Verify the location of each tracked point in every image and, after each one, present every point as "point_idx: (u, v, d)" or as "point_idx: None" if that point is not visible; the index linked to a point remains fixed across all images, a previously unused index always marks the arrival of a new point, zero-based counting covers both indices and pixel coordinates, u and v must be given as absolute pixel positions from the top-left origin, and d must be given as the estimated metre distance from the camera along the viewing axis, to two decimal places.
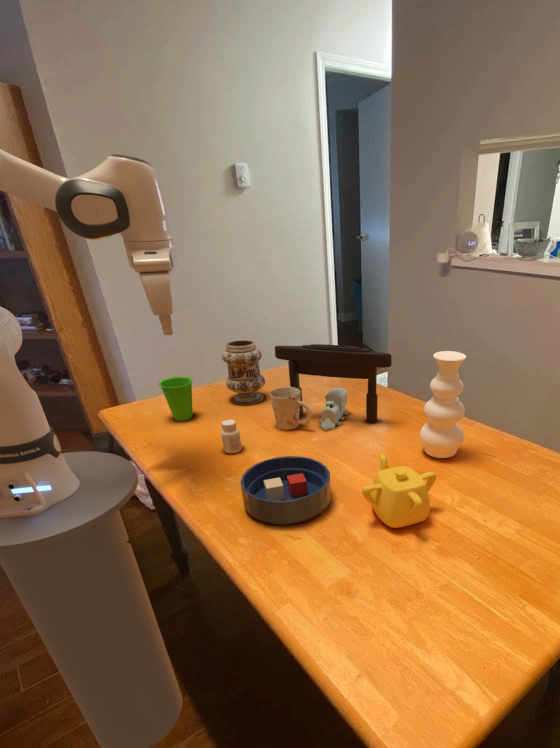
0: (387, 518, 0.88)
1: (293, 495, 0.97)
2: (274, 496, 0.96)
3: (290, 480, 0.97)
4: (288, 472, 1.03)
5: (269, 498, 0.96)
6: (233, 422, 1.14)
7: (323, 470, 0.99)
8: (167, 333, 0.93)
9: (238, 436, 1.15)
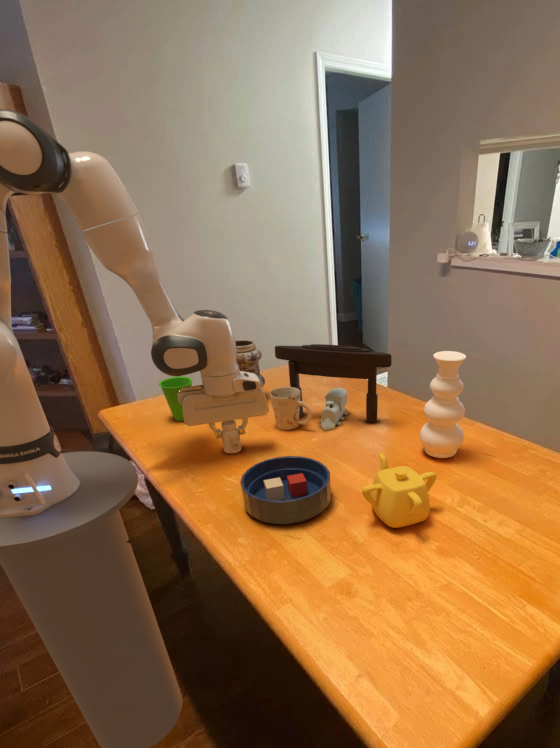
0: (387, 518, 0.88)
1: (293, 495, 0.97)
2: (274, 496, 0.96)
3: (290, 480, 0.97)
4: (288, 472, 1.03)
5: (269, 498, 0.96)
6: (233, 422, 1.14)
7: (323, 470, 0.99)
8: None
9: (238, 436, 1.15)
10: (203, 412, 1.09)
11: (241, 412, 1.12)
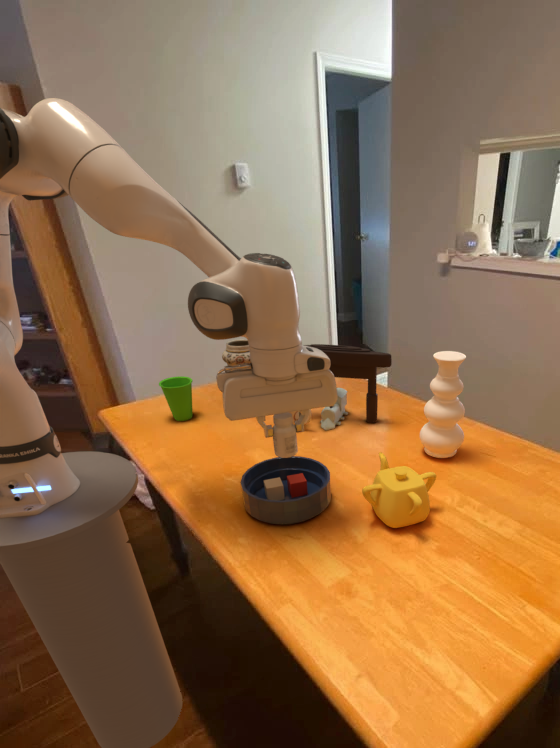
0: (387, 518, 0.88)
1: (293, 495, 0.97)
2: (274, 496, 0.96)
3: (290, 480, 0.97)
4: (288, 472, 1.03)
5: (269, 498, 0.96)
6: (289, 415, 0.84)
7: (323, 470, 0.99)
8: None
9: (295, 434, 0.85)
10: (252, 401, 0.78)
11: (302, 402, 0.82)
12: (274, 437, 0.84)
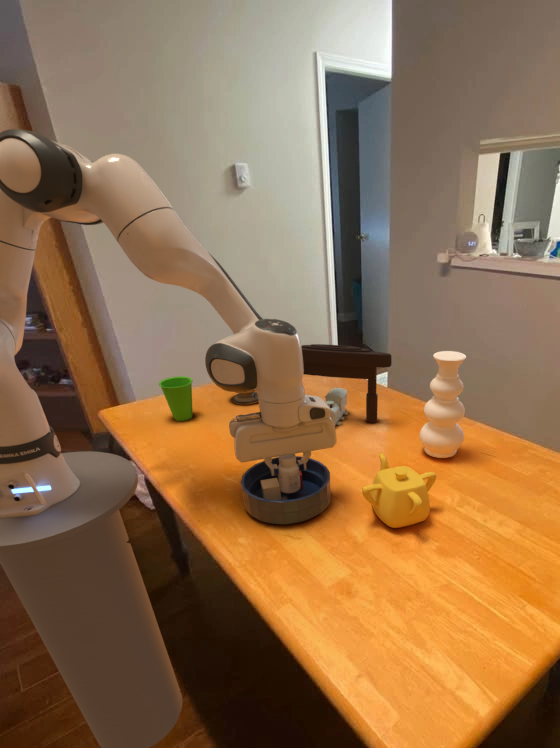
0: (387, 518, 0.88)
1: None
2: (270, 496, 0.96)
3: None
4: None
5: (265, 498, 0.96)
6: (293, 456, 0.93)
7: (323, 470, 0.99)
8: None
9: (298, 472, 0.95)
10: (260, 446, 0.88)
11: (304, 445, 0.91)
12: (279, 475, 0.94)
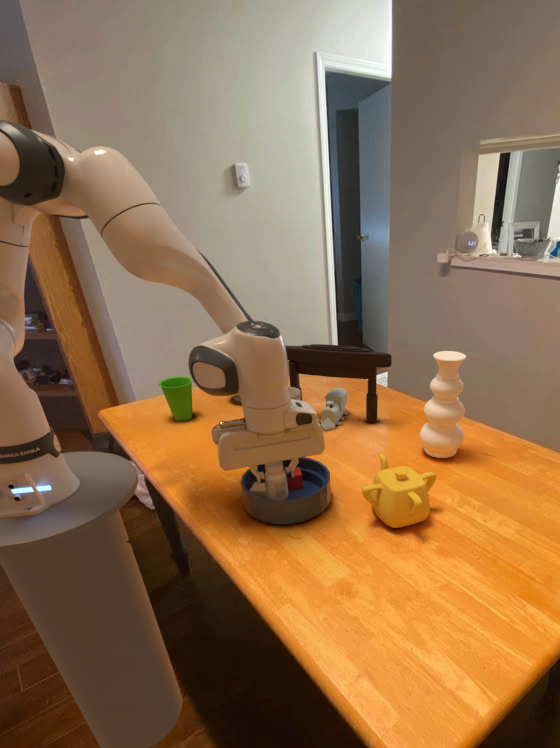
0: (387, 518, 0.88)
1: (289, 488, 1.00)
2: None
3: None
4: None
5: None
6: (280, 463, 0.90)
7: (323, 470, 0.99)
8: None
9: (285, 480, 0.91)
10: (244, 453, 0.84)
11: (291, 452, 0.88)
12: (266, 483, 0.90)
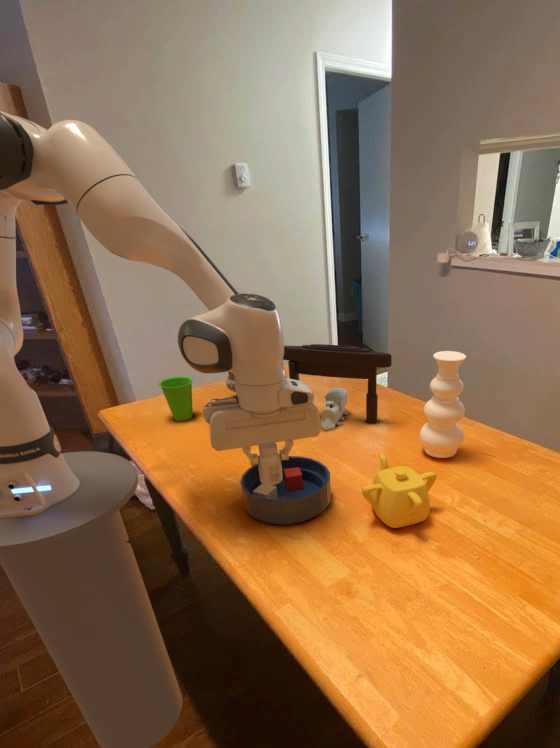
0: (387, 518, 0.88)
1: (289, 488, 1.00)
2: None
3: (286, 473, 0.99)
4: None
5: None
6: (274, 445, 0.86)
7: (323, 470, 0.99)
8: None
9: (279, 463, 0.88)
10: (237, 433, 0.81)
11: (286, 433, 0.85)
12: (259, 466, 0.87)
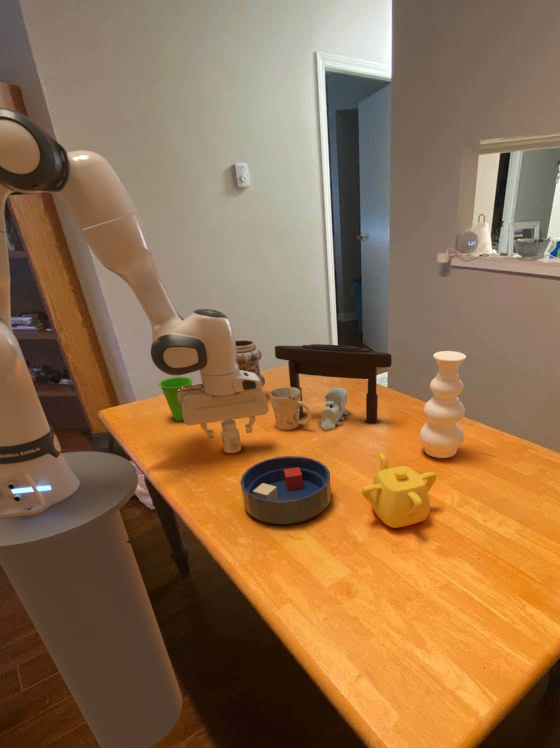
0: (387, 518, 0.88)
1: (289, 488, 1.00)
2: None
3: (286, 473, 0.99)
4: None
5: None
6: (233, 422, 1.14)
7: (323, 470, 0.99)
8: None
9: (238, 436, 1.15)
10: (203, 411, 1.09)
11: (241, 412, 1.12)
12: (222, 438, 1.15)
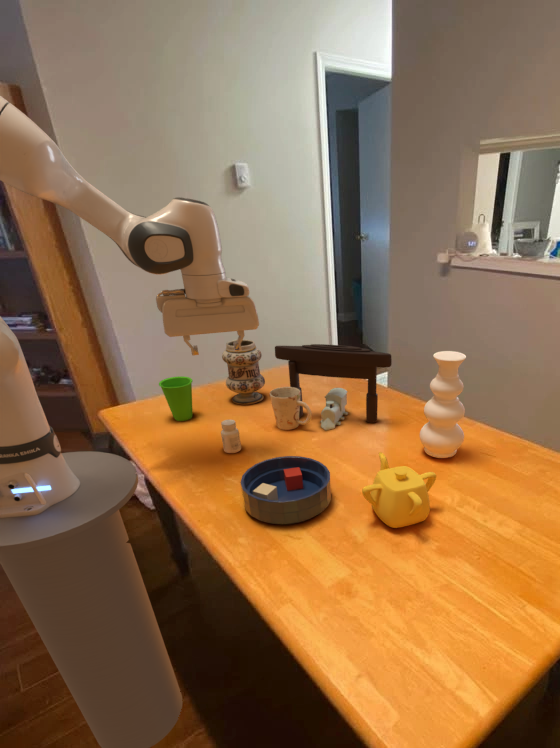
0: (387, 518, 0.88)
1: (289, 488, 1.00)
2: None
3: (286, 473, 0.99)
4: None
5: None
6: (233, 422, 1.14)
7: (323, 470, 0.99)
8: None
9: (238, 436, 1.15)
10: (186, 321, 0.98)
11: (228, 324, 1.01)
12: (222, 438, 1.15)
